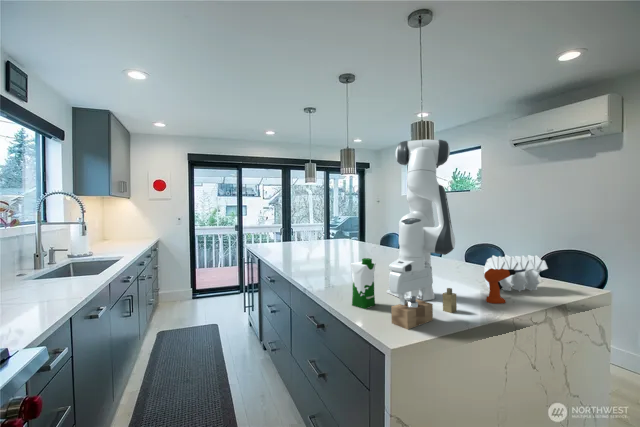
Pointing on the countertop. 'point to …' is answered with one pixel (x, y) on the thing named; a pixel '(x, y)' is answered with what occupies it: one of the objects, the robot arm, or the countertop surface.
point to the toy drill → (497, 283)
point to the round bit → (412, 302)
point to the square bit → (449, 301)
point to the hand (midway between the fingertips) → (412, 302)
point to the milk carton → (363, 283)
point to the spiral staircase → (521, 278)
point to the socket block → (412, 314)
